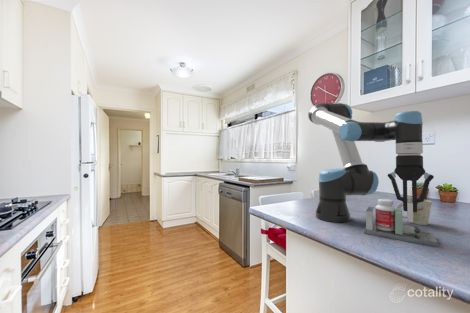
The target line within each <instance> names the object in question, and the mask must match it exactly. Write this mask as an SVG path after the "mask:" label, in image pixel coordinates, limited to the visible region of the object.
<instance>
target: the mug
mask: <svg viewBox="0 0 470 313" xmlns="http://www.w3.org/2000/svg"><path fill="white" fill-rule="evenodd" d="M407 202H412V197H411V198H408V197H407ZM396 208H401V209H402V208H403V202H402V203H400V204H398V205H397V206H396ZM431 209H432V200H428V199H424V202H419V203H417V212H413V222H410V224H411V223H412V224H414V225H417V226H418V225H419V226H427V225H429V220H430V216H431V215H430V214H431ZM402 219H407V220H408V215H407V216H405V215H404V216H403V215H402Z"/></svg>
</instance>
